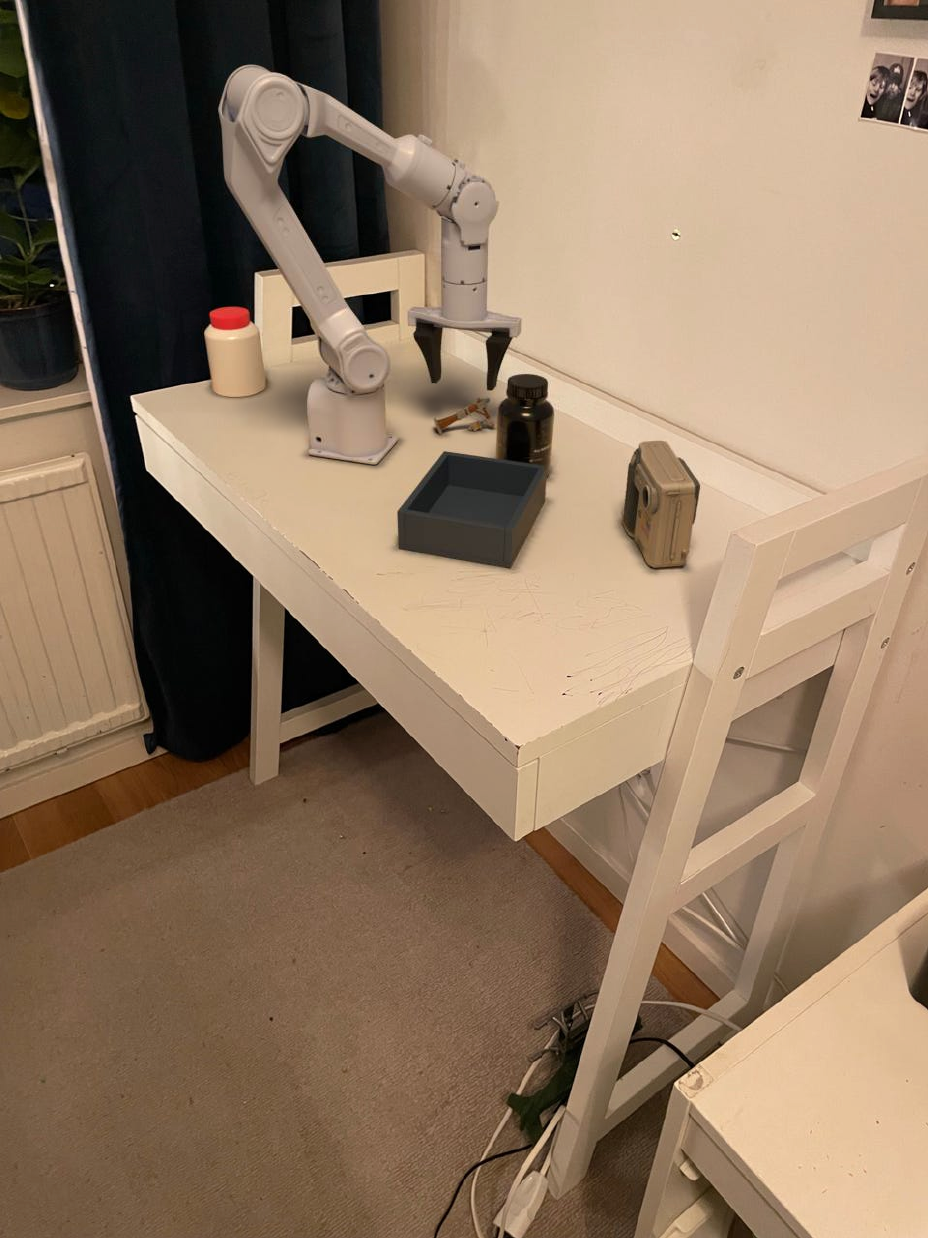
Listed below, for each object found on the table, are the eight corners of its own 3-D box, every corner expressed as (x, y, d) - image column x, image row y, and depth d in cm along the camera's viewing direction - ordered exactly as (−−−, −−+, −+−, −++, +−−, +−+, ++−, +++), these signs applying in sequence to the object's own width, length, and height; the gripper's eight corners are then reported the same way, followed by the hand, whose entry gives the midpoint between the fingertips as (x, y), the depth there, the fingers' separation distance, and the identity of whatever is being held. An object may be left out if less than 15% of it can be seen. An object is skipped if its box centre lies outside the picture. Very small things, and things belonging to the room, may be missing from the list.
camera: (617, 519, 107) (627, 438, 101) (667, 517, 107) (679, 437, 102) (640, 572, 98) (652, 487, 92) (694, 571, 98) (709, 485, 92)
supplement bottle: (546, 488, 113) (552, 393, 106) (490, 482, 114) (493, 388, 107) (553, 464, 118) (559, 372, 112) (500, 458, 120) (503, 367, 113)
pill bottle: (260, 397, 135) (251, 321, 129) (207, 396, 135) (195, 320, 129) (270, 377, 142) (261, 304, 135) (219, 376, 142) (208, 303, 135)
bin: (398, 548, 101) (397, 511, 99) (443, 485, 113) (443, 450, 111) (510, 568, 98) (512, 530, 96) (545, 501, 110) (547, 465, 108)
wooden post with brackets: (501, 425, 126) (488, 396, 123) (447, 450, 127) (434, 422, 124) (499, 419, 127) (486, 391, 125) (446, 444, 128) (432, 417, 126)
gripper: (529, 274, 116) (524, 379, 124) (419, 264, 120) (421, 367, 128) (514, 290, 111) (510, 399, 119) (400, 279, 114) (403, 385, 122)
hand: (463, 384), depth 123 cm, fingers open, 7 cm apart
